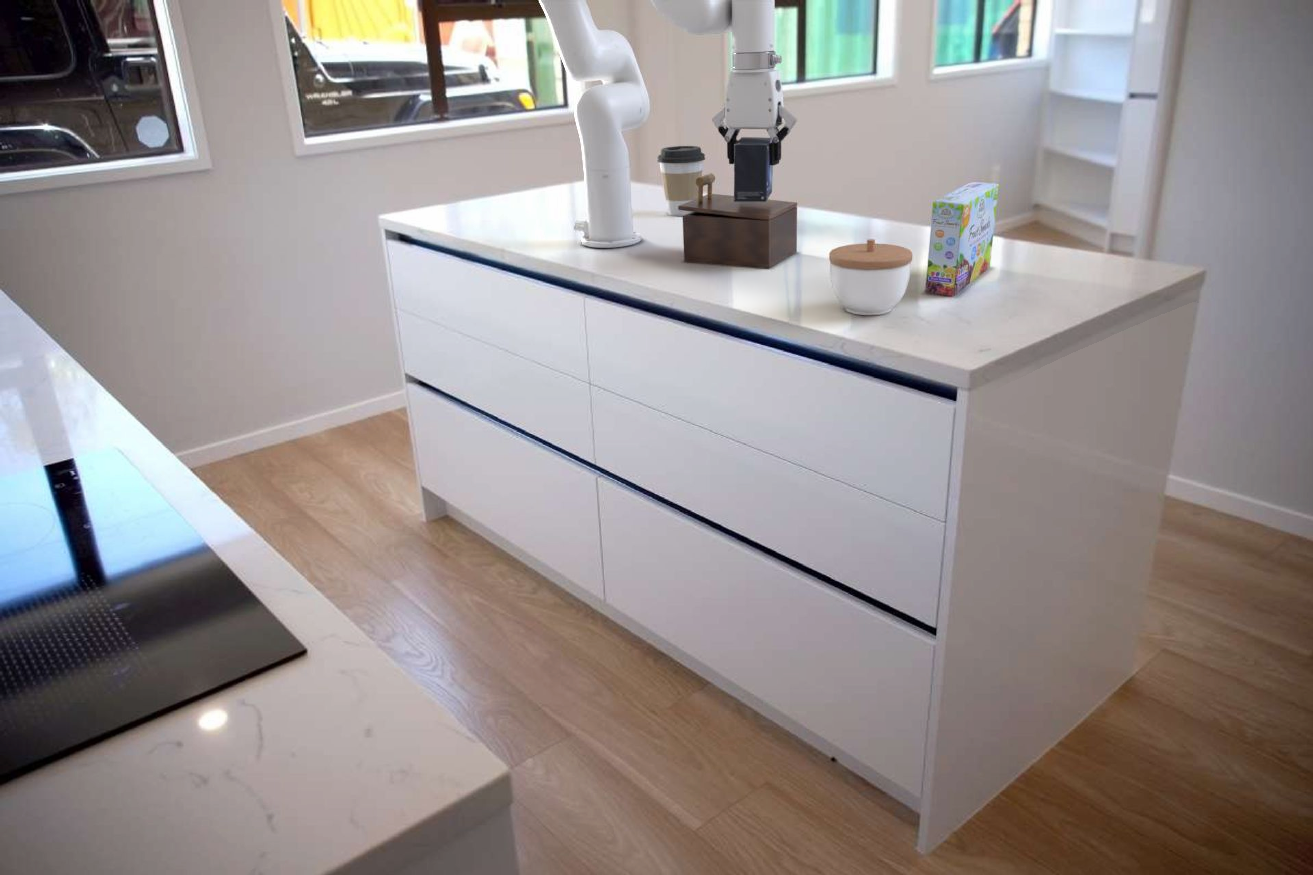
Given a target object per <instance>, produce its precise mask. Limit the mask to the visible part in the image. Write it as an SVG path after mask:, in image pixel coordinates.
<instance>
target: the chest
mask: <svg viewBox="0 0 1313 875" xmlns="http://www.w3.org/2000/svg"><path fill="white" fill-rule="evenodd" d="M682 238H683V241H682V242H683V262H685V263H692V264H693V263H694V264H705V265H718V266H729V267H743V268H753V269H768V270H769V269H772V268H773V267H774V266H777V265H778V264H780V263H781V262H783V261H785V260H787V259H788V258H790V257H791V256H793V255H795V254H796V253H798V252H797V251H798V206H797V207H795V208H793V209H791V210H789V211H787V212H785V213H783V214H781V215H779V216H777V217H775V218H773V219H771V220H761V219H753V218H744V217H735V216H727V215H718V214H709V213H700V212H690V213H688V214H686V215H683V216H682Z"/></svg>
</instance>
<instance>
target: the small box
mask: <svg viewBox="0 0 1313 875" xmlns="http://www.w3.org/2000/svg"><path fill="white" fill-rule="evenodd" d="M737 140H738V141H737V142H736V143H735V144H734V164H733V177H734V178H733V196H734V202H766V201H767V199H768V200H769V198H770V196H771V194H773V173H774V172H773V171H774V170H773V169H774V166H772V165H770V164H769V144H770V143H772V139H771V138H770V137H759V136H758V137H755V136H754V137H753V136H752V137H751V136H750V137H749V136H747V137H746V136H742V137H740V138H739V139H737Z"/></svg>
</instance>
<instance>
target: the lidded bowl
mask: <svg viewBox="0 0 1313 875" xmlns="http://www.w3.org/2000/svg"><path fill="white" fill-rule="evenodd" d="M828 254H829V256H828V260H829V278H830V284H831V289H832V292H833V295H834V296H835V298H836V299H837V301H838V302H839V303H840V304H841V305H842V306H843V307H845V311H846V312H847V313H850V314H853V315H857V316H858V315H860V316H880V315H885V314H888V313H890V312H892V310H893V309H892V308H894V307H895V306H896V305H897V304H898V303H899V302H900V301H901V300H902V298H903V297H904V295H905V293H906V291H907V288H908V285H909V282H910V276H911V270H912V268H911V267H912V260H913V252H912V251H911V250H910V249H909V248H907V247H904V246H900V245H896V244H888V243H876V239H875V238H867V239H866V243H853V244H847V245H841V246H838V247H835V248H833V249H831V250H830V251H829V253H828Z"/></svg>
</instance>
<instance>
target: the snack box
mask: <svg viewBox="0 0 1313 875" xmlns="http://www.w3.org/2000/svg"><path fill="white" fill-rule="evenodd" d="M999 188H1000V184H999V183H990V182H978V181H977V182H976V181H975V182H973V181H971V182H968V183H967V184H965V185H963V186H961V187H959V188H957V189H956V190H954V191H951V192H950V193H947V194H946V195H944V196H942V197H940V198H938V199H937V200H934V201H933V202H932V210H931V221H930V222H931V223H930V233H929V245H928V256H927V267H926V277H925V287H924V293H930V294H937V295H944V296H952V297H954V296H955V295H956V294H958V293H959V292H961V291H962V290H963V289H964V288H966V286H968V285H969V284H970V283H972V282H973V281H975V280H976V279H977V278H979V277H980V276H981V275H983V274H984V273H985V272H986V271H987V270H989V269H990V268H991V260H992V250H993V242H994V232H995V223H996V215H997V206H998V196H999Z"/></svg>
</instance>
